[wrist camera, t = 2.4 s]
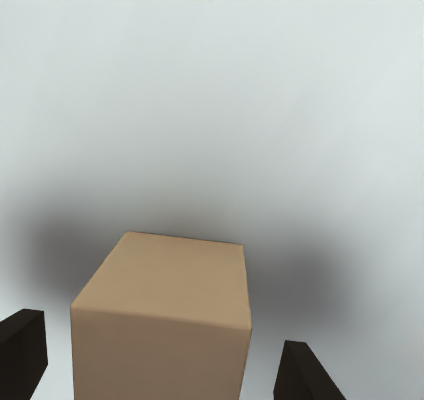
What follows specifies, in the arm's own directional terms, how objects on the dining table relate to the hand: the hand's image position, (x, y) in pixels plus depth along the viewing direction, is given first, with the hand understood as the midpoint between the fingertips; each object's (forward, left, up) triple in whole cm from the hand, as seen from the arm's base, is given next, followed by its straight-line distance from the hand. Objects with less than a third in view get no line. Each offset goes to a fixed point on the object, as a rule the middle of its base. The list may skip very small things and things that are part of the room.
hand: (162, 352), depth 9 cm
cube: (0, 0, -3) cm, 3 cm away
